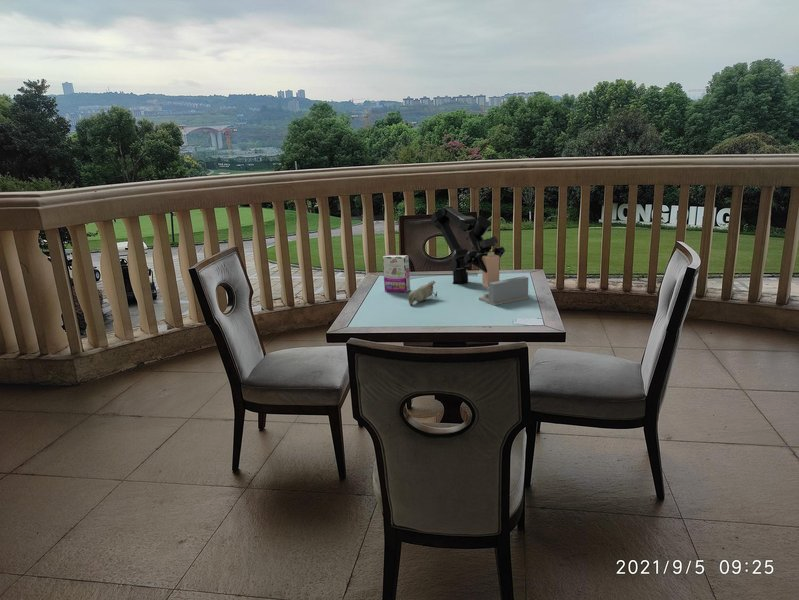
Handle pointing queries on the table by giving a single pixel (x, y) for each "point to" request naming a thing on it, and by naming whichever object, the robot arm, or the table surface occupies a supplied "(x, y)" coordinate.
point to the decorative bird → (421, 293)
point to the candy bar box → (396, 273)
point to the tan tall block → (490, 269)
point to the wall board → (506, 291)
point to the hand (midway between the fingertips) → (492, 271)
